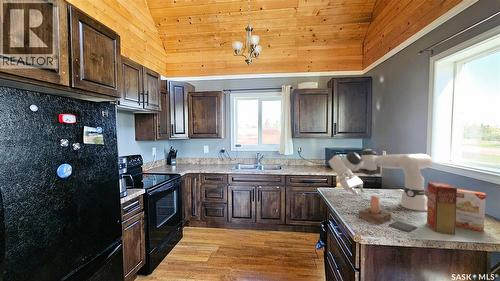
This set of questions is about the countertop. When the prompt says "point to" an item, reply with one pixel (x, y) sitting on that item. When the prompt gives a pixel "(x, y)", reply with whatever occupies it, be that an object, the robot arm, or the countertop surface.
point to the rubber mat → (402, 226)
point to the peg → (375, 205)
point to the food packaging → (441, 207)
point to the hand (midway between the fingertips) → (360, 193)
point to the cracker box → (470, 209)
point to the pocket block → (375, 216)
